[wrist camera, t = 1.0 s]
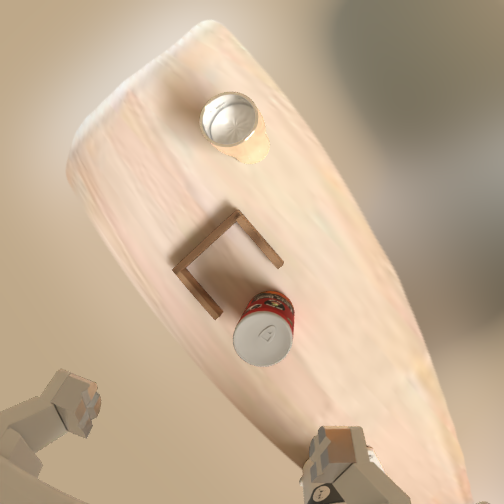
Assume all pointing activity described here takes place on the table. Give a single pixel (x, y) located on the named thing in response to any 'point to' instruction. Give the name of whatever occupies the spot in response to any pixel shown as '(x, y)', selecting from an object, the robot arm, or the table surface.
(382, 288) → the table surface
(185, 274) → the open wooden square
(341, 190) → the table surface
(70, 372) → the robot arm
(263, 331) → the canned food
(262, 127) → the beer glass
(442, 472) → the table surface
